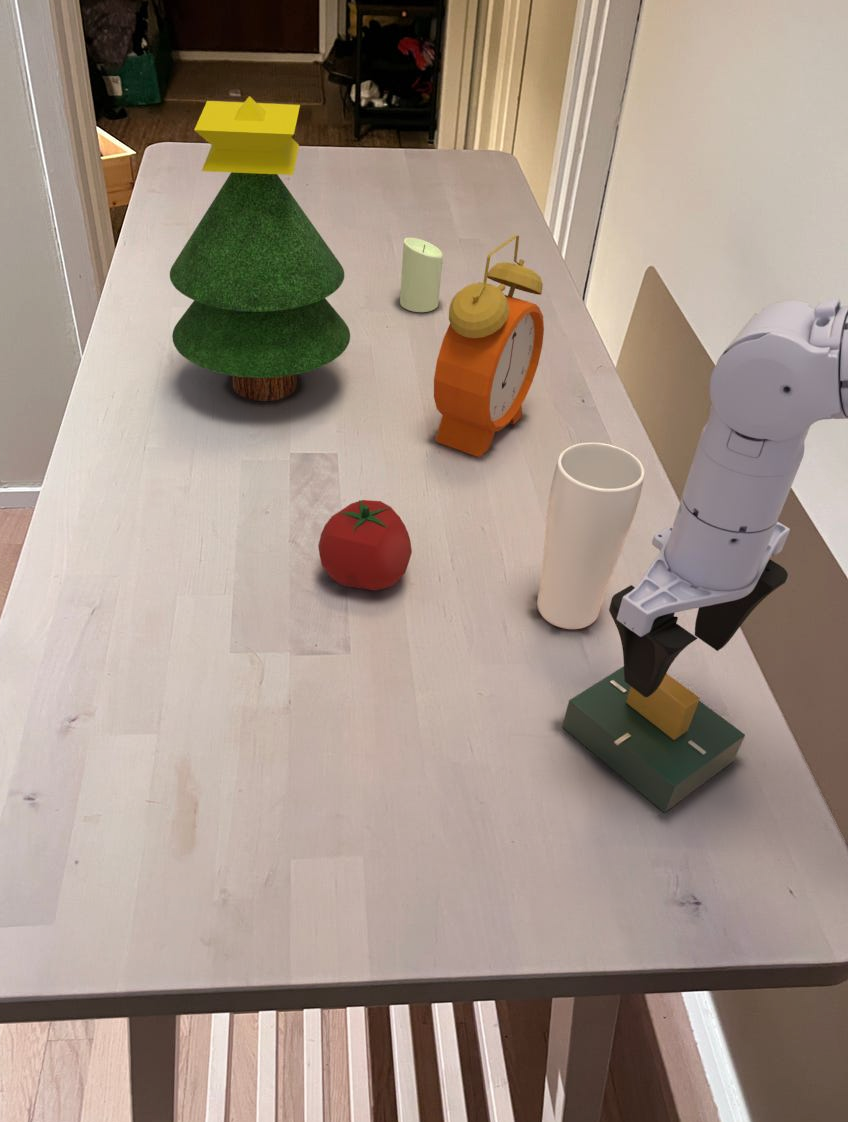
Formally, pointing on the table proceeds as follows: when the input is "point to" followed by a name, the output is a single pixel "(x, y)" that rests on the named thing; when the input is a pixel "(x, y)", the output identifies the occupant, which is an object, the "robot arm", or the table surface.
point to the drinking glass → (586, 530)
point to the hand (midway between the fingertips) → (674, 663)
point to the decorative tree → (256, 261)
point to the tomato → (365, 546)
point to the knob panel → (650, 742)
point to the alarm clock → (488, 356)
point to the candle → (420, 275)
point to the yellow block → (666, 706)
